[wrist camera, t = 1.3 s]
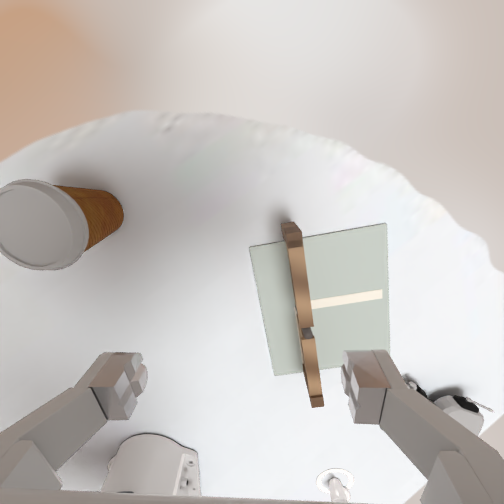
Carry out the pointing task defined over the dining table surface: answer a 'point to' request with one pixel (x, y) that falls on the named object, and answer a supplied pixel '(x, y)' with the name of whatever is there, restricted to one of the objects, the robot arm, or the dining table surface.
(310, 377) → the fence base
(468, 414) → the robot toy
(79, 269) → the dining table surface
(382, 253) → the card
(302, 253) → the hinged fence panel
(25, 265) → the disposable coffee cup
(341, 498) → the teacup and saucer
